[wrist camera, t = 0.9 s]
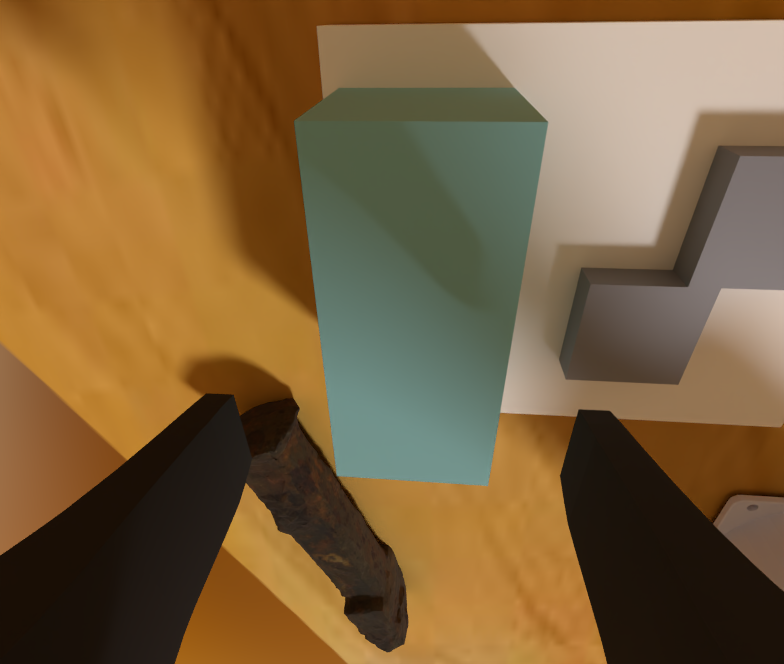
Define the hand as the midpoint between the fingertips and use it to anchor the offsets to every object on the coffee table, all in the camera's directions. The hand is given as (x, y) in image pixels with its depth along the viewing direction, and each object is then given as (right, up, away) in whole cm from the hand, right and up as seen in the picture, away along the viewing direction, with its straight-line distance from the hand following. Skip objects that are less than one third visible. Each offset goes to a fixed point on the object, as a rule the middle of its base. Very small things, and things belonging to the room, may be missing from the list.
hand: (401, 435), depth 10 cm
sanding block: (+1, +5, +6) cm, 8 cm away
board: (+7, +5, +7) cm, 11 cm away
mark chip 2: (+11, +6, +4) cm, 13 cm away
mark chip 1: (+8, +3, +7) cm, 11 cm away
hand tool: (-2, -8, +18) cm, 20 cm away
